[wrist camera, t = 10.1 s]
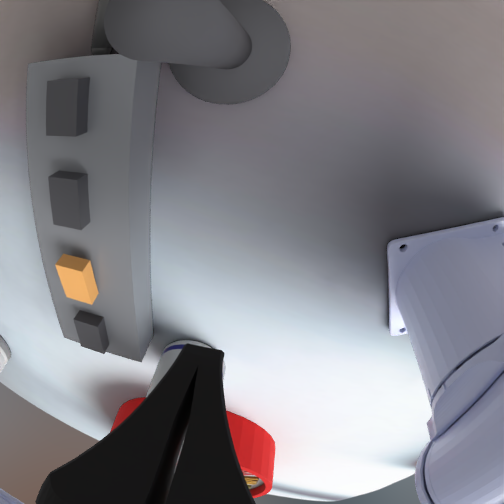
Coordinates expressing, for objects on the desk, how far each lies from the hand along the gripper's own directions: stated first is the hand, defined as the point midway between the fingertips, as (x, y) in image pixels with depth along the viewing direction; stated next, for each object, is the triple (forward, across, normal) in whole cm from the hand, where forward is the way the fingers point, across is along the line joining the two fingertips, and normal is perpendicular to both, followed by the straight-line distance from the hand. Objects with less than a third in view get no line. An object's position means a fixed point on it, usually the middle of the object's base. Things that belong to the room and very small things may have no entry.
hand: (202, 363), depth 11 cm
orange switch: (+6, +9, +2) cm, 11 cm away
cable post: (+9, +2, -11) cm, 14 cm away
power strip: (+9, +9, -4) cm, 13 cm away
